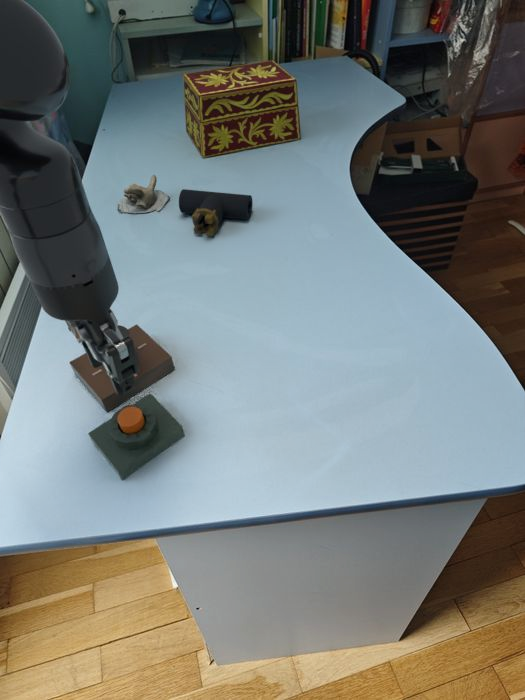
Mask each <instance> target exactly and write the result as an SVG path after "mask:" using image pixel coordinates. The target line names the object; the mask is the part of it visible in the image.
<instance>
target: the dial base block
mask: <svg viewBox="0 0 525 700" xmlns="http://www.w3.org/2000/svg"><path fill="white" fill-rule="evenodd" d="M127 329H128V330H129V333H130V336H131V339H132V340H133V343H134V347H135V351H136V354H137V362H138V367H139V372H138V373H137V374H134V375H133V376H132V377H133V379H134V382H135V388H134V389H133V390H131V391H130V392H128V393H126V394H125V395H123V396H119V395H118V394H117V393H116V391H115V389H114V386H113V384H112V382H111V379H110V377H109V376H108V374H107V371H106V369H105V367H104V365H101V366H100V367H98V368H94V367H93V366H92V365H91V363H90V361H89V359H88V356H87V354H86V352H85V353H83V354H81V355H80V356H78V357H76V358H74V359H73V360H70V361H69V365H70V368H71V369H72V371H73V373H74V375H75V376H76V378H77V379H78V380H79V382H81V384H82V385H83V386H84V388H86V390H88V392H89V393H90V394H91V395H92V397H93V398H94V399H95V401H97V403H98V404H99V405H100V406H101V408H102V409H103V410H104V411H105V412H106V413H109V412H111V411H113V410H114V409H115V408H117V407H119V406H120V405H122V404H123V403H125V402H126V401H128V400H129V399H131V398H133V397H134V396H136V395H138V394H139V393H141V392H142V391H143V390H145V389H147V388H149V387H150V386H152V385H153V384H155V383H156V382H158V381H159V380H162V379H163V378H164V377H166V376H168V375H169V374H170V373H172V372H174V371H175V370H176V369H175V365H174V360H173V357H172V355H170V354H169V353H168V352H167V351H166V350H165V349H164V348H163V346H161V345H160V344H159V343H157V341H156V340H154V339H153V338H152V337H151V336H150V335H149V334H148V333H147V332H146V331H145V330H144V329H143V328H141V326H140V325H138V324H135V325H133V326H131V327H129V328H127Z"/></svg>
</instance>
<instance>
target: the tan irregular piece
mask: <svg viewBox="0 0 525 700" xmlns="http://www.w3.org/2000/svg"><path fill="white" fill-rule="evenodd" d="M157 182H158V181H157V176H156V175H155V174H152V175H151V177H150V181H149V184H148V186H147V187H144V186H142V185H138V184H137V183H131V184H130V185H129V186H128V187H127V188H124V190H123V193H124V194H123V198H122V199H121V200H120V202H119V204H117V211H118V212H119V213H122V214H124V213H129V214H144V213H149V212H154V211H156V212H160V211H161V210H162V209H163V207H165V204H166V203H167V202H169V200H170V196H169V195H167V194H165V193H164V192H163V191H162V190H161V189H156V186H157Z"/></svg>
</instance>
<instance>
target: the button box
mask: <svg viewBox="0 0 525 700" xmlns="http://www.w3.org/2000/svg"><path fill="white" fill-rule="evenodd" d="M127 407H137V408H139V409H140V410H141V411H142V414H143V417H144V420H145V424H144V426H143V428H142V429H141V430H140V431H138V432H136V433H133V434H128V433H125V432H123V431H122V429H121V427H120V425H119V423H118V415H119V413H120V412H121V411H122V410H123V409H125V408H127ZM87 435H88V436H89V438H90V440H91V441H92V444H93V445H94V446H95V447H96V449H97V450H98V451H99V452H100V454H101V455H102V457H104V459H105V461H106V462H107V463H108V464H109V466H110V467H111V468H112V469H113V471H114V472H115V473H116V475H117V476H118V477H119V478H120V480H121V481H124V480H125V479H127V478H128V477H130V476H131V475H132V474H134V473H135V472H137V471H138V470H139V469H141V468H142V467H143V466H145V465H146V464H147V463H149V462H151V461H152V460H153V459H155V458H156V457H157V456H159V455H160V454H161V453H164V451H166V450H167V449H169V448H170V447H171V446H173V445H174V444H175V443H177V442H178V441H180V440H181V439H183V438H184V437H185V436H186V434H185V431H184V428H183V426H182V425H181V423H179V421H178V420H177V419H176V418H175V417H174V416H173V415H172V414H171V412H169V411H168V410H167V408H165V407H164V405H163V404H162V403H160V402H159V400H158V399H157V398H156V397H155V396H154V395H153V394H152V393H150V392H149V393H148V394H147V395H145V396H144V397H142V398H141V399H140V398H139V400H137V401H136V402H135V403H132V404H127V405H124V406H123V407H121V408H119V409H118V410H117V411H115V412H114V413H113V415H112V417H111V418H109V419H108V420H106V421H105V422H103V423H102V424H100V425H98V426H97V427H95V428H94V429H92V430H91V431H89V432H88V434H87Z"/></svg>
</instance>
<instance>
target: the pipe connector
mask: <svg viewBox="0 0 525 700" xmlns="http://www.w3.org/2000/svg"><path fill="white" fill-rule="evenodd" d="M253 205H254V203H253V197H252V195H250V194H249V195H248V194H240V193H230V192H219V191H218V192H217V191H208V190H205V191H204V190H196V189H184V188H182V189H181V190H180V192H179V196H178V208H179V211H180V213H182V214H188V215H192V216H191V219H192V224H193V234H194V235H200V236H201V235H202V234H206V236H208V237H209V236H210V237H214V235H215V233H216V232H217V230H218V227H219V224H220V222H221V221H222V219H223V218H227V219H239V220H248V221H249V220H250V219H251V217H252V213H253Z"/></svg>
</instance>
